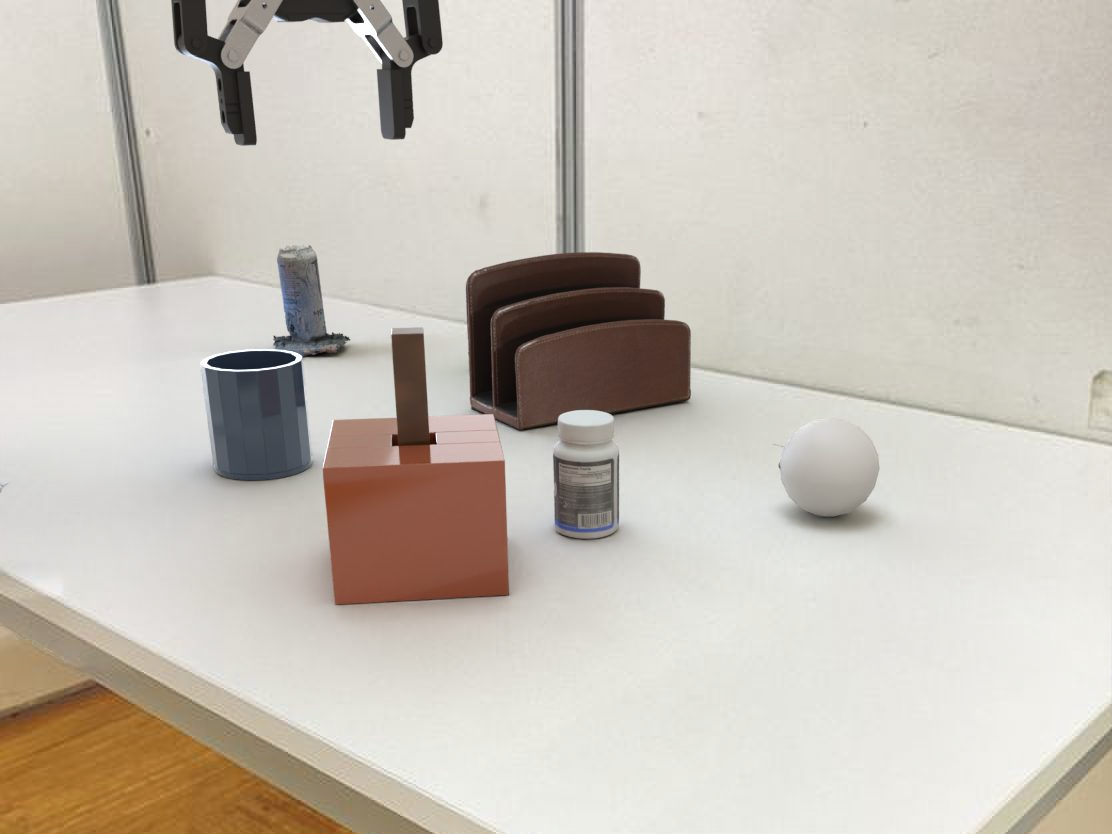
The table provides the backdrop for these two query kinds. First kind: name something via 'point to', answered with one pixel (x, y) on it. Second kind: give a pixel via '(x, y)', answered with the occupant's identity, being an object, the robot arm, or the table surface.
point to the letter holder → (571, 339)
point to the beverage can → (303, 304)
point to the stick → (410, 386)
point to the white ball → (829, 467)
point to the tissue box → (416, 511)
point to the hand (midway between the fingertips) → (321, 141)
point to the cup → (257, 413)
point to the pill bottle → (586, 475)
